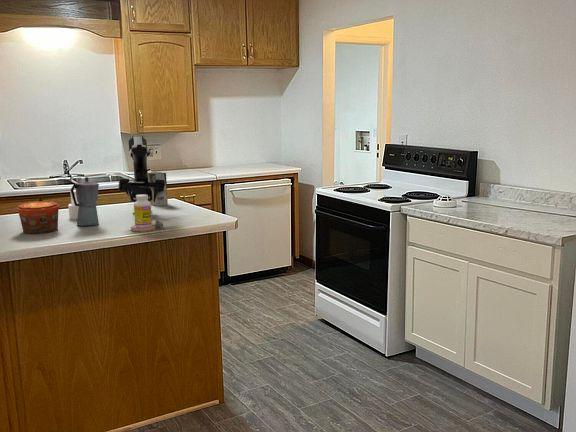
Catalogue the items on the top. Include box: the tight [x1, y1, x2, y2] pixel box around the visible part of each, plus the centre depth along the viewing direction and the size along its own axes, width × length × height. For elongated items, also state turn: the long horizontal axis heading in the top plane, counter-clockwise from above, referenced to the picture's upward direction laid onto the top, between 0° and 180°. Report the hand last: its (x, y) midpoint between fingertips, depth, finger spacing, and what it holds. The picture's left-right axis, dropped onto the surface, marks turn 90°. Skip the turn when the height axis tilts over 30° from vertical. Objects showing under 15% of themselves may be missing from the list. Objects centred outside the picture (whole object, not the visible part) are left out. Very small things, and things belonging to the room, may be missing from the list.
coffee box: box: [148, 171, 169, 207], centre depth 283 cm, size 9×6×16 cm
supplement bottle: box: [133, 194, 153, 228], centre depth 227 cm, size 7×7×13 cm
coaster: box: [130, 223, 157, 233], centre depth 228 cm, size 10×10×1 cm
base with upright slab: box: [68, 189, 79, 220], centre depth 252 cm, size 9×9×12 cm
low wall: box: [155, 218, 164, 231], centre depth 231 cm, size 10×1×2 cm, turn 26°
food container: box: [15, 201, 61, 235], centre depth 226 cm, size 16×16×11 cm
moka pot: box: [70, 177, 100, 227], centre depth 236 cm, size 10×15×20 cm, turn 161°
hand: (143, 201), depth 235 cm, fingers open, 9 cm apart
